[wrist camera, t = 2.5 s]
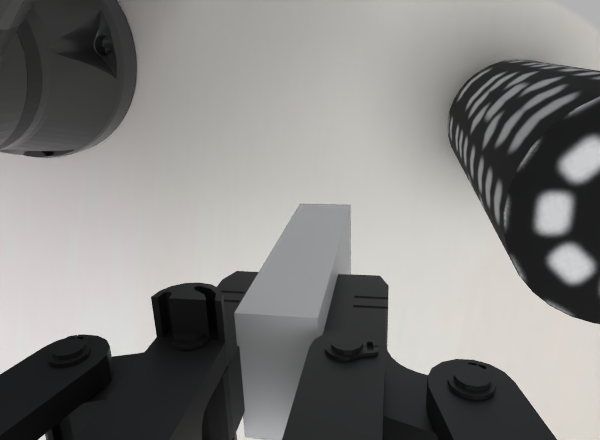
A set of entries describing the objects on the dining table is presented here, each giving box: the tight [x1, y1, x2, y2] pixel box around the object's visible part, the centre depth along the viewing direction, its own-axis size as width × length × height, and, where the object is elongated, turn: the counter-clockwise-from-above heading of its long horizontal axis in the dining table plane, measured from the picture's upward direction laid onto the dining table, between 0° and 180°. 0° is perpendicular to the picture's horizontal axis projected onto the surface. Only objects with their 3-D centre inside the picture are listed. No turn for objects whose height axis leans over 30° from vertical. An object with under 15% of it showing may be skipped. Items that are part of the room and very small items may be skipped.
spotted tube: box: [448, 60, 600, 324], centre depth 26 cm, size 8×8×20 cm
